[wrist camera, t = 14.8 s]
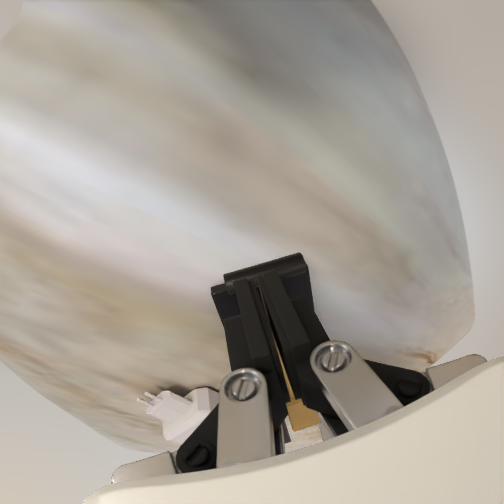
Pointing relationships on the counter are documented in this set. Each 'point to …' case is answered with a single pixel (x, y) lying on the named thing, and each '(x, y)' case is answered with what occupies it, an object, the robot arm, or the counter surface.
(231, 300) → the bracket
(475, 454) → the robot arm
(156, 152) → the counter surface
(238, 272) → the tap lever
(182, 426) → the charger
